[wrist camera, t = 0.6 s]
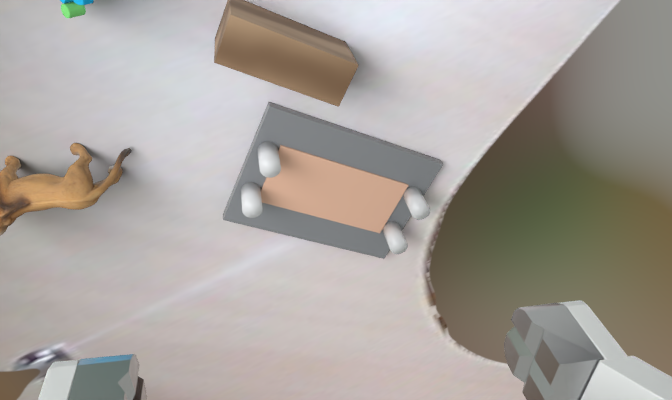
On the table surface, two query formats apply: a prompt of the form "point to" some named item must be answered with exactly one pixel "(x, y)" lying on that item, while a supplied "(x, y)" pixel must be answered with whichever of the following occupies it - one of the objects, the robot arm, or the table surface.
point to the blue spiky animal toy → (74, 7)
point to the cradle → (330, 184)
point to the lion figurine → (52, 187)
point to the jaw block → (283, 52)
